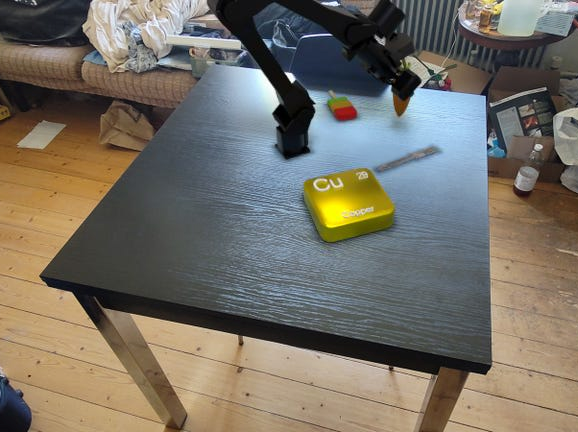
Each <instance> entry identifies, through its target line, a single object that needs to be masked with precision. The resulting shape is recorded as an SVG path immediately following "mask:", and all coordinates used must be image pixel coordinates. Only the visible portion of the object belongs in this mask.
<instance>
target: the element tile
mask: <svg viewBox="0 0 578 432" xmlns="http://www.w3.org/2000/svg"><path fill="white" fill-rule="evenodd" d="M302 188H303V190H302V193H303V202H304V204H305V206H306V208H307V210H308V212H309V215H310V217H311V219H312V221H313V223H314V225H315V227H316V230H317V232H318V235H319V236H320V238H321V239H322V240H323V241H325V242H328V243H333V242H334V243H335V242H338V241H339V242H340V241H344V240H346V239H350V238H351V239H352V238H354V237H359V236H363V235H366V234H371V233H374V232H378V231H382V230H386V229H389V228H391V227H392V226H393V224H394V222H395V221H394V219H395V211H396V206H395V204H394V202H393V201H392V199H391V198H390V196H389V195H388V194H387V191H386V190H385V189H384V187H383V186H382V184H381V183H380V182H379V180H378V179H377V177H376V176H375V174H374V173H373V171H372V170H371V169H369V168H367V167H359V168H355V169H350V170H345V171H339V172H336V173H331V174H326V175H322V176H316V177H313V178H308V179H306V180H305V181H304V182H303V185H302Z"/></svg>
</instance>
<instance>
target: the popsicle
mask: <svg viewBox="0 0 578 432" xmlns="http://www.w3.org/2000/svg"><path fill="white" fill-rule="evenodd" d="M328 94H329V95H330V96H331V97H332V98H328V99H327V100H326V103H327V105H328V108H329V109H330V110H331V112H332V113H333V115H334V116H335V118H336V119H337V120H338V121H341V122H342V121H348V120H354V119H356V118H357V117H358V111H357V108H355V106H354V105H353V104H352V103H351V101H350V100H349V99H348V97H347V96H339V97H337V96H336V94H335V93H334V91H333V90H328Z"/></svg>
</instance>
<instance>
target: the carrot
mask: <svg viewBox="0 0 578 432" xmlns="http://www.w3.org/2000/svg"><path fill="white" fill-rule="evenodd" d="M401 62H402V65H401V66H400V67H399V68H398V69H399V70H400V71H402V70H408V69H410V70H411V66H412V65H411V64H412V63H411V62H410V61H409V62H407V61H406V58H404V59H403V60H401ZM397 75H398V74H397ZM398 76H399V75H398ZM394 81H395V79H394V80H393V83H394ZM411 98H412V97H409V98H408V99H407V100H406V101H402V100H401V99H399V98H398V97H397V96H396V95H395V94H393V93H392V105H393V108H394V112H395V114H396V116H397V118H401V117H402V116H403V115H404V113H405V112H406V110H407V108H408V107H409V104H410V101H411Z"/></svg>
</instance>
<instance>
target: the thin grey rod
mask: <svg viewBox="0 0 578 432" xmlns="http://www.w3.org/2000/svg"><path fill="white" fill-rule="evenodd" d="M438 151H439V150H438V149H437V148H436V147H434V146H431V147H428V148H426V149H421V150H419V151H416V152H414V153H412V154H411V155H408V156H405V157H403V158H400V159H397V160H394V161H392V162H389V163H386V164H383V165H380V166H377V167H376V170H377V171H378V173H381V172H383V171H386V170H388V169H392V168H395V167H397V166H400V165H402V164H405V163H408V162H410V161H413V160H418V159H421V158H424V157H427V156H429V155H432V154H435V153H437V152H438Z"/></svg>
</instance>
